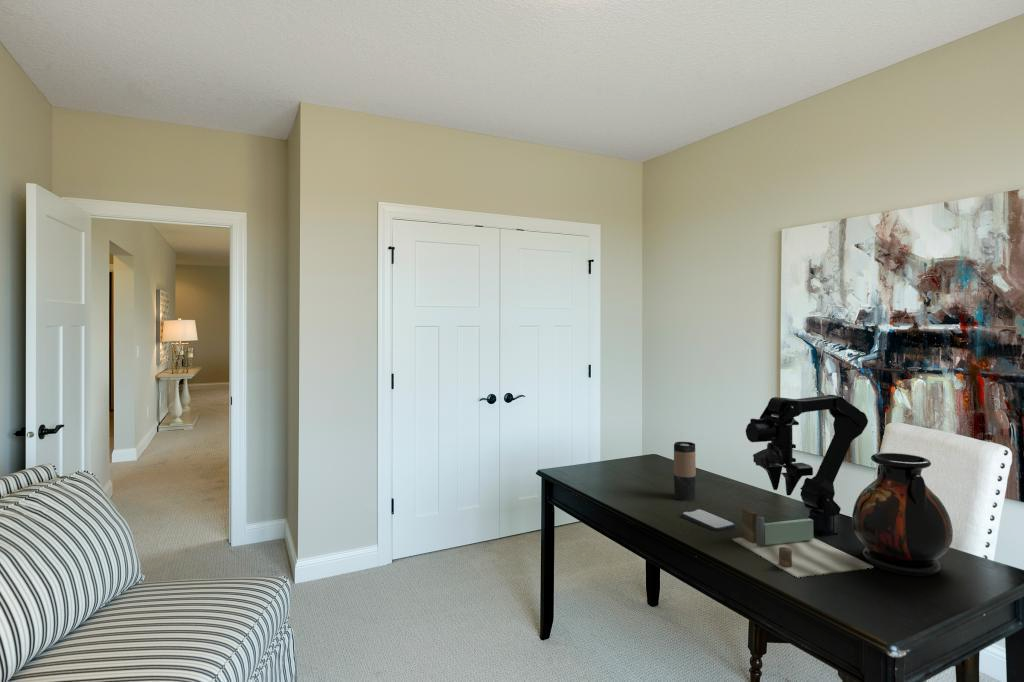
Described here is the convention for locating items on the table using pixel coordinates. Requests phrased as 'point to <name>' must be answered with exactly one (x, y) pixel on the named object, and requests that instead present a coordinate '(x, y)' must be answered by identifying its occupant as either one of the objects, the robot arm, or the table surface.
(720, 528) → the phone case
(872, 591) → the table surface
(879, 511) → the amphora vase
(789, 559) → the stop post
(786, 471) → the robot arm
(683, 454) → the travel mug
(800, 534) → the gate
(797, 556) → the gate base
